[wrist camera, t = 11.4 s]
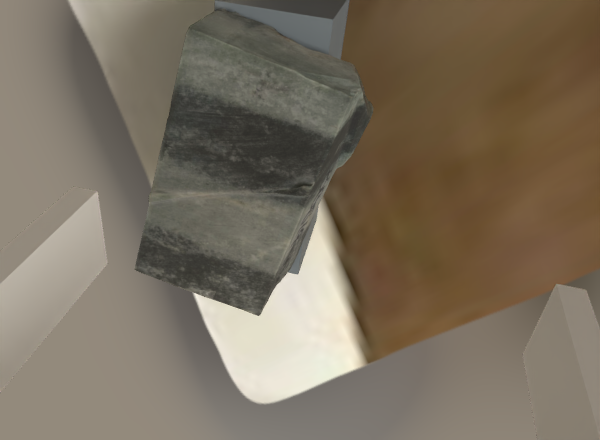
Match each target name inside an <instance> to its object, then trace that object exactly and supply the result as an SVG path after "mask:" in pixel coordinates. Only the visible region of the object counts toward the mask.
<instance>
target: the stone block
mask: <svg viewBox="0 0 600 440" xmlns="http://www.w3.org/2000/svg"><path fill="white" fill-rule="evenodd" d="M372 113H373V106H372V104H371V102H369V101H368V99H367V98H366V96H365V92H364V87H363V84H362V82H361V79H360V76H359V74H358V72H357V70H356V68H355V66H354V65H353V64H351V63H349V62H346V61H343V60H339V59H337V58H335V57H333V56H331V55H327V54H324V53H321V52H318V51H314V50H310V49H308V48H306V47H304V46H302V45H300V44H298V43H296V42H295V41H294V40H292V39H290V38H287V37H286V36H283V35H282V34H281V33H279V32H277V31H276V29H275V28H273V27H271V26H268V25H266V24H263V23H261V22H258V21H255V20H252V19H247V18H246V17H244V16H242V15H240V14H239V13H236V11H235V12H229V11H227V10H226V9H224V8H223V9H221V10H217V11H215V12H213V13H212V14H210V15H207V16H206V17H204V18H203V19H202V20H200V21H198V22H196V23H194V24H193V25H191V26H190V27H189V29H188V31H187V33H186V38H185V42H184V46H183V51H182V55H181V60H180V64H179V69H178V73H177V78H176V83H175V87H174V92H173V96H172V101H171V107H170V112H169V117H168V119H167V124H166V130H165V134H164V138H163V142H162V146H161V150H160V155H159V159H158V164H157V168H156V173H155V177H154V181H153V187H152V191H151V193H150V195H149V202H150V204H149V208H148V212H147V217H146V222H145V226H144V230H143V235H142V240H141V244H140V248H139V252H138V257H137V261H136V266H135V270H136V271H139V272H141V273H143V274H146V275H149V276H151V277H154V278H157V279H159V280H162V281H164V282H167V283H169V284H172V285H174V286H177V287H180V288H182V289H185V290H188V291H191V292H194V293H196V294H199V295H201V296H204V297H207V298H210V299H213V300H216V301H219V302H222V303H225V304H228V305H230V306H233V307H236V308H239V309H242V310H244V311H247V312H249V313H252V314H255V315H257V316H259V315H260V314H261V312H262V310H263V308H264V306H265V305H266V303H267V301H268V299H269V297H270V295H271V293H272V291H273V290H274V288H275V287H276V285H277V284H278V283H279V282H280V281H281V280H282V278H283V277H284V276H285V275H286V274H287V272H288V271H289V270H290V269H291V267H292V265H293V263H294V261H295V259H296V257H297V255H298V253H299V250H300V247H301V245H302V242H303V240H304V238H305V235H306V233H307V231H308V229H309V226H310V224H311V222H312V219H313V217H314V214H315V212H316V210H317V207H318V205H319V203H320V201H321V199H322V197H323V195H324V193H325V191H326V189H327V186H328V184H329V182H330V180H331V178H332V176H333V174H334V172H335V170H336V169H337V168H338V167H341V166H342V165H343V164H344V163H345V162H346V161H347V160H348V159H349V158H350V157H351V155H352V154H353V152H354V150H355V148H356V146H357V144H358V142H359V140H360V138H361V136H362V134H363V132H364V130H365V128H366V126H367V125H368V123H369V121H370V119H371V116H372Z"/></svg>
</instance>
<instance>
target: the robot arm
mask: <svg viewBox="0 0 600 440" xmlns="http://www.w3.org/2000/svg"><path fill="white" fill-rule="evenodd" d="M102 227H103V226H102V220H101V213H100V205H99V198H98V191H95V190H90V189H85V188H80V187H75V186H73V187H72V188H71V189H70V190H69V191H67V192H66V193H65V194H64V195H63V196H62V197H61V198H60V199H58V200H57V201H56V202H55V203H54V204H53V205H52V206H50V207H49V208H48V209H47V210H46V211H45V212H44V213H42V214H41V216H39V217H38V218H37V219H36V220H35V221H33V222H32V223H31V224H30V225H29V226H28V227H27V228H25V229H24V230H23V231H22V232H21V233H20V234H19V235H17V236H16V237H15V238H14V239H13V240H12V241H11V242H10V243H9V244H7V245H6V246H5V247H4V248H3V249H2V250H0V392H1V391H2V390H3V389H4V388H5V386H6V385H7V384H8V383H9V381H10V380H11V379H12V378H13V377H14V375H15V374H16V373H17V372H18V371H19V370H20V368H21V367H22V366H23V365H24V363H25V362H26V361H27V360H28V359H29V357H30V356H31V355H32V354H33V353H34V351H35V350H36V349H37V348H38V347H39V345H40V344H41V343H42V342H43V341H44V339H45V338H46V337H47V336H48V335H49V333H50V332H51V331H52V330H53V329H54V327H55V326H56V325H57V324H58V323H59V321H60V320H61V319H62V318H63V316H64V315H65V314H66V313H67V312H68V310H69V309H70V308H71V307H72V306H73V304H74V303H75V302H76V301H77V300H78V298H79V297H80V296H81V295H82V294H83V292H84V291H85V290H86V289H87V288H88V286H89V285H90V284H91V283H92V281H93V280H94V279H95V278H96V277H97V276H98V274H99V273H100V272H101V271H102V270H103V268H104V267H105V266H106V265H107V264H108V262H107V255H106V248H105V241H104V234H103V228H102ZM522 355H523V361H524V367H525V372H526V378H527V384H528V390H529V396H530V401H531V407H532V413H533V418H534V425H535V430H536V436H537V440H600V328H599V325H598V322H597V319H596V317H595V314H594V311H593V308H592V305H591V302H590V299H589V296H588V294H587V291H586V290H584V289H579V288H574V287H569V286H565V285H560V284H556V285H555V287H554V290H553V292H552V294H551V296H550V298H549V300H548V302H547V304H546V306H545V308H544V310H543V312H542V315H541V317H540V319H539V321H538V323H537V325H536V327H535V329H534V331H533V333H532V335H531V338H530V340H529V342H528V344H527V346H526V348H525V350H524V352H523V354H522Z"/></svg>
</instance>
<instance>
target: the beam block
mask: <svg viewBox="0 0 600 440" xmlns="http://www.w3.org/2000/svg"><path fill="white" fill-rule="evenodd" d="M348 7H349V0H215V11H217V10H221V9H223V8H224V9H226V10H227V11H229V12H235V11H236V13H239V14H240V15H242V16H244V17H246V18H247V19H252V20H255V21H258V22H261V23H263V24H266V25H268V26H271V27H273V28H275V29H276V31H277V32H279V33H281V34H282V35H283V36H286V37H287V38H290V39H292V40H294V41H295V42H296V43H298V44H300V45H302V46H304V47H306V48H308V49H310V50H314V51H318V52H321V53H324V54H327V55H331V56H333V57H335V58H337V59H339V60H340V59H341V53H342V46H343V40H344V33H345V26H346V20H347V13H348ZM317 212H318V207H317V210H316V212H315V214H314V217H313V219H312V222H311V224H310V226H309V229H308V231H307V233H306V235H305V238H304V240H303V242H302V245H301V247H300V250H299V253H298V255H297V257H296V259H295V261H294V263H293V265H292V267H291V269H290V270H289V271H288V272H289V273H293V274H298V273H299V270H300V267H301V264H302V261H303V258H304V255H305V252H306V249H307V246H308V243H309V240H310V237H311V234H312V231H313V228H314V225H315V222H316V218H317Z"/></svg>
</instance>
